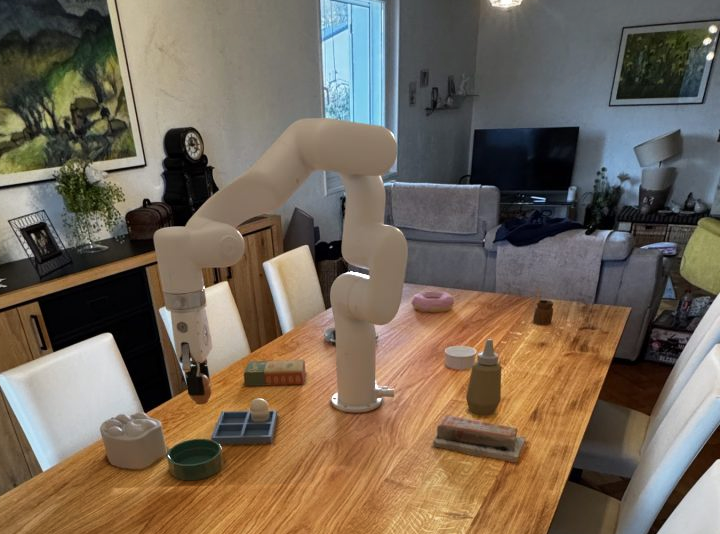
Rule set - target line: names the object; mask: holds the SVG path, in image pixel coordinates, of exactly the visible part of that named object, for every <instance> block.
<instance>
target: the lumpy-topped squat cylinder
mask: <svg viewBox="0 0 720 534" xmlns="http://www.w3.org/2000/svg"><path fill="white" fill-rule="evenodd" d="M99 431H100V435H101V438H102V442H103V446H104V450H105V453H106V456H107V457H106V458H107V460H108V462H109V463H110V464H111V465H113V466H114V467H117V468H121V469H131V470H139V469H145V468H147V467H149V466H151V465H153V463H154V462H156V461H157V460H159V459H161V458H162V457H164V456H166V455H167V453H168V449H167V444H166V439H165V435H164V434H165V433H164V429H163V425H162V422H161V421H160V420H158V419H156V418H153V417H150V416H148V414H146V413H145V412H142V411H139V412H136V413H135V414H133V413H132V414H131V415H128V414H125V413H119V414H118V415H116V416H115V417H111V418H108V419H107V420H105V421H103V422H102V423H101V425H100V427H99Z"/></svg>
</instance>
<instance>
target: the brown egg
mask: <svg viewBox="0 0 720 534" xmlns="http://www.w3.org/2000/svg"><path fill="white" fill-rule="evenodd" d="M200 376H202V377H203V384H204V390H205V394H204V395H197V396H190V395H189V398H190V399H191V400H192V401H193V402H194V403H195V405H198V406H199V405H206V404H207V403H209V399H210V398H211V396H212V387H211V380H210V381H209V379H208V377H207V376H206V375H204V374H202V373H200Z"/></svg>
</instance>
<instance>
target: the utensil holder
mask: <svg viewBox="0 0 720 534" xmlns="http://www.w3.org/2000/svg"><path fill="white" fill-rule="evenodd" d="M551 292H554V293H553V294H552V293H548V295H547V296H548V297H546V298H547V299H540V297H541V295H540V288H539V287H538V286H536V294H537V295H536V296H537V299H538V300H537V302H536V306H535V307H534V311H533V319H532V322H533V324H535V325H538V326H547V325H551V323H552V320H553V313H554V308H553V307H554V301H555V300H554V299H555V297H556V295H557V292H556V290H554V289H551ZM551 295H552V297H551ZM554 295H555V296H554ZM550 298H551V300H549V299H550Z"/></svg>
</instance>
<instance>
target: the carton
mask: <svg viewBox="0 0 720 534" xmlns="http://www.w3.org/2000/svg"><path fill="white" fill-rule="evenodd" d="M305 377H306V362H305V360H304V359H288V360H287V359H286V360H254V361H252V360H248V362H247V365H246V367H245V369H244V371H243V381H244V385H245V386H246V387H250V386H251V387H252V386H283V385H285V386H289V385H304V381H305Z"/></svg>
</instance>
